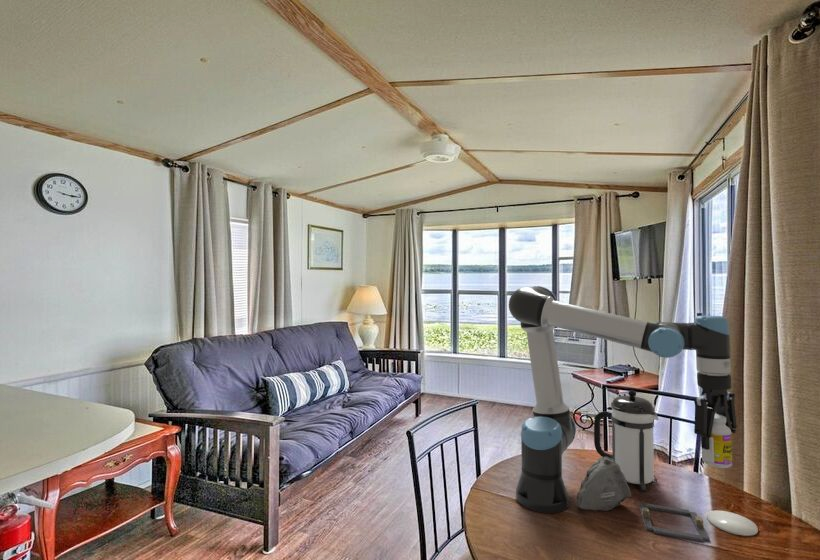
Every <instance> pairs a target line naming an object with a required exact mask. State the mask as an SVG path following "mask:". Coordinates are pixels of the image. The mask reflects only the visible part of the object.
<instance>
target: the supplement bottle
mask: <svg viewBox="0 0 820 560" xmlns="http://www.w3.org/2000/svg"><path fill="white" fill-rule="evenodd" d="M725 423H726V417H725V416H723V415H719V414H716V413H715V416H714V422H713V427H712V433H711V437H713V440H714V463H712V462H709V461H706V460H703V459H702V458H701V459H702V462H703V463H704V464H707V465H709V466H712V467H715V468H719V469H728V468H731V467H732V466H733V448H732V447H733V446H732V442H733V441H732V433H731V430H730V428H729V427H727V426H726V425H725Z"/></svg>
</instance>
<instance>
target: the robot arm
mask: <svg viewBox="0 0 820 560" xmlns="http://www.w3.org/2000/svg"><path fill="white" fill-rule="evenodd" d="M508 310H509V312H510V315H511V316H512V317H513V319H515V320H516V321H518V322H520V328H521V330H523V331H524V332H525V333H526V339H527V344H528V345H527V346H528V354H529V360H530V366H531V367H530V368H531V374H532V381H533V387H534V397H535V403H536V404H535V406H533V408H532V416H533V417H529V418H527V419H526V420H524V421H523V422H522V424H521V431H520V439H521V442H520V443H521V446H520V449H521V473H520V475H519V479H518V482H517V485H516V487H515V499H516V501H517V502H518V503H519V504H520V505H521V506H523V507H524V508H526V509H528V510H531V511H534V512H538V513H542V514H543V513H544V514H556V513H560V512H564V510H565V511H566V509H568V506H569V494H568V492H567V491H568V490H567V488H566V486H565V481H564V480H563V470H562V469H563V460H562V459H563V458H562V457H563V454H564V452H566V450H567V449H568V447H570V446H571V445H572V443H573V442H574V440H575V438H576V433H577V428H576V427H577V426H576V422H575V420H574V419H573V417H572V415H571V412H570V407H569V406H568V405H567V404H565V402H564V398H563V390H562V383H561V375H560V371H559V370H560V369H559V363H558V358H557V357H558V355H557V349H556V342H555V336H554V329H555V328H558V329H561V330H562V329H563V330H566V331H571V332H575V333H577V334H578V333H579V334H582V335H585V336H589V337H594V338H598V339H602V340H606V341H609V342H614V343H617V344H621V345H625V346H629V347H632V348H637V349H640V350H643V351H647V352H650V353H653V354H655V355H656V356H657V357H660V358H664V359H668V358H674V357H677V355H679V354H680V353H681V352H682V351H683V350H688V351H695V352H696V356H695V357H696V358H695V359H696V361H695V362H696V370H697V371H698V372H697V373H696V379H697V381H696V382H697V383H696V384H697V386H698V387H700V389H701V390H702V391H701V394H700V396H694V397H693V403H694V408H695V409H694V428H693V429H694V431H693V432H694V435H695V434H696V435H699V436H700V447H701V459H703V460H706V461H709V462H712V463H714V440H713V437H711V433H712V427H713V422H714V416H715V414H719V415H723V416H725V417H726V423H725V425H726V426H727V427H729V428H730V430H731V434H735V433H736V432H737V430H736V429H737V427H738V426H737V416H736V407H735V399H736V397H735V395H736V394H735V392H729V391H728V390H731V389H732V376H731V374H730V373H731V371H732V369H731V366H732V364H731V338H730V337H731V336H730V335H731V333H730V326H729V325H730V324H729V323H730V322H729V320H728V318H726V316H722V315H721V316H720V315H697V316H695V318H694V321H693V322H670V321H669V322H668V321H666V322H664V321H656V322H655V321H654V322H653V321H652V322H651V321H650V322H648V321H644V320H640V319H638V318H637V319H636V318H632V317H628V316H623V315H619V314H615V313H610V312H605V311H601V310H597V309H592V308H590V307H589V308H588V307H582V306H580V305H579V306H578V305H575V304H571V303H565V302H562V301H558V299H557V297H556V295H555V293H553V292H552V290H550V289H549V288H546V287H544V286H540V285H537V286H536V285H534V286H525V287H519V288H518V289H516V290H515V291H514V292H513V293H512V294H511V295H510V297H509V301H508ZM703 460H702V461H703Z"/></svg>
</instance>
